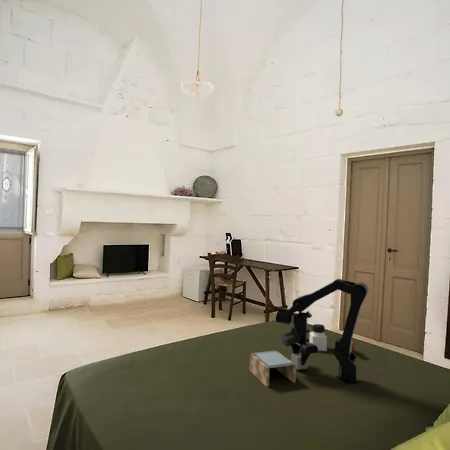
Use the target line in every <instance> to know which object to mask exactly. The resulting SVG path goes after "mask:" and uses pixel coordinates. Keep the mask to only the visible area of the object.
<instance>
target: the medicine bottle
mask: <svg viewBox="0 0 450 450" xmlns="http://www.w3.org/2000/svg"><path fill="white" fill-rule="evenodd" d="M325 328H326V327H325V325H323V324H322V323H321V324H320V323H314V324H312V326H311V331H309V343H313V344H314V345H316V346H317V347H318V352H327V351H328V336H327V335H326V334H325V333H326V332H325Z"/></svg>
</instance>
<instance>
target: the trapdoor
mask: <svg viewBox="0 0 450 450" xmlns="http://www.w3.org/2000/svg"><path fill="white" fill-rule="evenodd" d="M276 351H277V350H276ZM276 351H275V350H269V351H268V352H266V351H258V352H259V353H257V352H253V353H254V355H255V356H256V357H257V358H258V359H259V360H261V361H262V362H263V363H264V364H265V365H267V366H268V367H269V369H275V368H274V367H282V366H289V365H292V363H291V362H290V361H291V360H290V359H289V360H290V361H289V360H287V359H288V358H287V357H286V356H285V357H286V358H287V359H286V358H285V357H283V356H284V355H283V354H282V355H283V356H282V355H280V354H281V353H280V352H279V351H278V352H279V353H280V354H279V353H278V352H276Z"/></svg>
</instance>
